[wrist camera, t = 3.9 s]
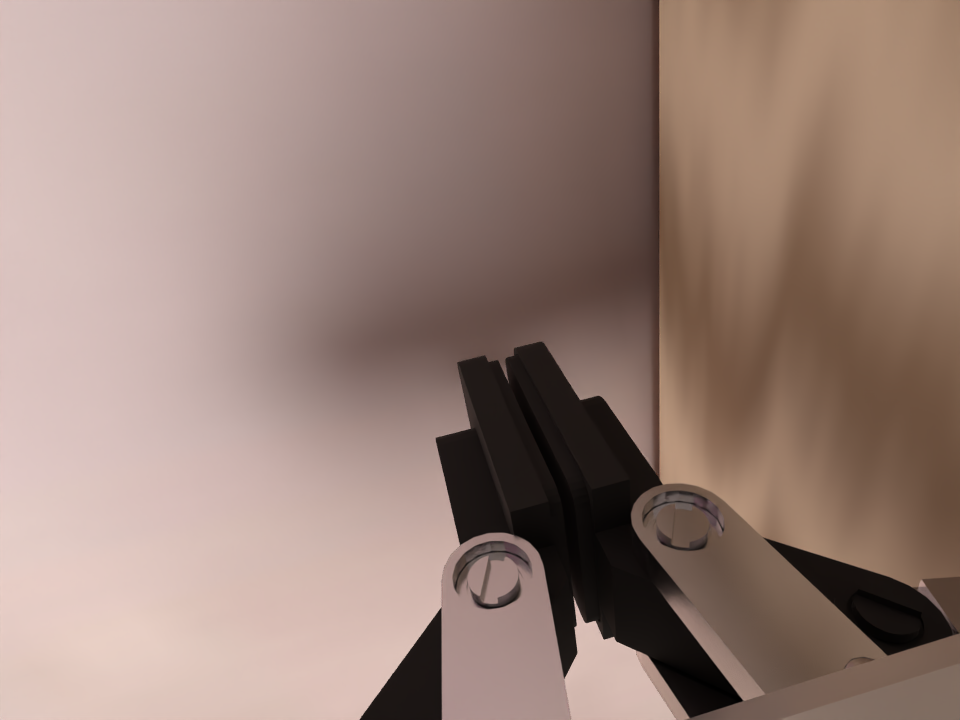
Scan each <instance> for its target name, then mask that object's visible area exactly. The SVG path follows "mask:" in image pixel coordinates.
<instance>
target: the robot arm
mask: <svg viewBox="0 0 960 720" xmlns="http://www.w3.org/2000/svg"><path fill="white" fill-rule="evenodd" d="M457 364H458V370H459V375H460V379H461V384H462V389H463V393H464V398H465V403H466V407H467V412H468V417H469V421H470V426H471V429H469V430H465V431H461V432H457V433H453V434H449V435H445V436H442V437H438V438H436V443H437V447H438V451H439V456H440V460H441V464H442V469H443V473H444V477H445V482H446V486H447V490H448V495H449V499H450V503H451V508H452V512H453V516H454V521H455V525H456V529H457V534H458V538H459V542H460V546H459V547H458V548H457V549H456V550H455V551H454V552H453V553H452V554H451V555H450V557H449V559H448V561H447V563H446V564H445V566H444V570H443V575H442V607H441V609H440V610H439V611H438V613H437V614H436V616H435V617H434V618H433V620H432V621H431V622H430V624H429V625H428V626H427V628H426V629H425V631H424V632H423V633H422V635H421V636H420V637H419V639H418V640H417V642H416V643H415V644H414V646H413V647H412V648H411V650H410V651H409V653H408V654H407V655H406V657H405V658H404V659H403V661H402V662H401V663H400V665H399V666H398V668H397V669H396V670H395V672H394V673H393V674H392V676H391V677H390V679H389V680H388V681H387V683H386V684H385V685H384V687H383V688H382V689H381V691H380V692H379V694H378V695H377V696H376V698H375V699H374V700H373V702H372V703H371V705H370V706H369V707H368V709H367V710H366V711H365V713H364V714H363V716H362V717H361V718H360V720H571V714H570V709H569V703H568V698H567V692H566V687H565V681H564V679H565V677H566V675H567V673H568V671H569V669H570V667H571V665H572V663H573V661H574V659H575V657H576V655H577V645H576V637H575V629H574V627H575V626H577V623H576V614H575V606H574V598H575V601H576V603H577V605H578V608H579V610H580V613H581V615H582V617H583V620H584V621H585V623H589V622H592V621H596V623H597V625H598V627H599V630H600V632H601V634H602V637H603V639H608V638H611V637H615V640H616V641H617V642H619V643H621V644H623V645H625V646H628V647H630V648H632V649H634V650H636V655H637V657H638V659H639V661H640V663H641V666H642V667H643V669H644V671H645V672H646V674H647V675H648V677H649V678H650V680H651V681H652V683H653V684H654V686H655V687H656V689H657V691H658V692H659V694H660V695H661V697H662V698H663V700H664V701H665V703H666V704H667V706H668V708H669V709H670V711H671V712H672V714H673V715H674V717H675V718H676V720H960V577H947V578H932V579H921V582H920V584H919V587H911V586H909V585H907V584H905V583H902V582H900V581H898V580H895V579H893V578H891V577H888V576H885V575H882V574H878V573H875V572H872V571H869V570H866V569H863V568H859V567H856V566H853V565H850V564H847V563H843V562H840V561H837V560H834V559H831V558H827V557H824V556H821V555H818V554H815V553H811V552H808V551H805V550H802V549H799V548H796V547H792V546H789V545H786V544H783V543H780V542H776V541H773V540H770V539H767V538H764V537H762V536H761V535H760V534H759V533H758V532H756V531H755V530H754V529H753V528H752V527H751V526H750V525H749V524H748V523H747V522H746V521H745V520H744V519H743V518H742V517H741V516H740V515H739V514H737V513H736V512H735V511H734V510H733V509H732V508H731V507H730V506H729V505H728V504H727V503H726V502H725V501H724V500H722V499H721V498H719V497H718V496H717V495H715V494H714V493H713V492H711V491H708V490H706V489H703V488H701V487H699V486H694V485H689V484H683V483H675V484H664V485H663V484H662V482H661V481H660V479H659V478H658V476H657V475H656V474H655V472H654V471H653V469H652V468H651V466H650V465H649V463H648V462H647V461H646V459H645V458H644V456H643V455H642V453H641V452H640V450H639V449H638V448H637V446H636V445H635V443H634V442H633V440H632V439H631V437H630V436H629V435H628V433H627V432H626V430H625V429H624V427H623V426H622V424H621V423H620V422H619V420H618V419H617V417H616V416H615V414H614V413H613V411H612V410H611V409H610V407H609V406H608V404H607V403H606V401H605V400H604V399H603V398H602V397H600V396H596V397H592V398H588V399H584V400H579V398H578V396H577V395H576V393H575V392H574V390H573V389H572V387H571V385H570V384H569V382H568V381H567V379H566V377H565V376H564V374H563V373H562V371H561V369H560V368H559V366H558V365H557V363H556V361H555V360H554V358H553V357H552V355H551V353H550V352H549V350H548V349H547V347H546V346H545V344H544V343H543V342H537V343H533V344H529V345H525V346H521V347H517V348H515V349H514V356H512V357H508V358H506V369H507V375H508V381H509V383H508V381H507V379H506V377H505V374H504V372H503V370H502V368H501V366H500V364H499V362H498V360H496V361H492V362H488V361H487V358H486V356H481V357H477V358H473V359H469V360H465V361H461V362H457ZM573 596H574V598H573Z"/></svg>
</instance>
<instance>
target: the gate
mask: <svg viewBox="0 0 960 720" xmlns="http://www.w3.org/2000/svg"><path fill="white" fill-rule="evenodd" d="M659 444H660V481H661V482H662V484H663V485H664V484H675V483H683V484H689V485H694V486H699V487H701V488H703V489H706V490H708V491H711V492H713V493H714V494H715V495H717V496H718V497H719V498H721V499H722V500H724V501H725V502H726V503H727V504H728V505H729V506H730V507H731V508H732V509H733V510H734V511H735V512H736V513H737V514H739V515H740V516H741V517H742V518H743V519H744V520H745V521H746V522H747V523H748V524H749V525H750V526H751V527H752V528H753V529H754V530H755V531H756V532H758V533H759V534H760V535H761V536H762V537H764V538H767V539H770V540H773V541H776V542H780V543H783V544H786V545H789V546H792V547H796V548H799V549H802V550H805V551H808V552H811V553H815V554H818V555H821V556H824V557H827V558H831V559H834V560H837V561H840V562H843V563H847V564H850V565H853V566H856V567H859V568H863V569H866V570H869V571H872V572H875V573H878V574H882V575H885V576H888V577H891V578H893V579H895V580H898V581H900V582H902V583H905V584H907V585H909V586H911V587H919V584H920V582H921V579H932V578H947V577H960V0H659Z"/></svg>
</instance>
